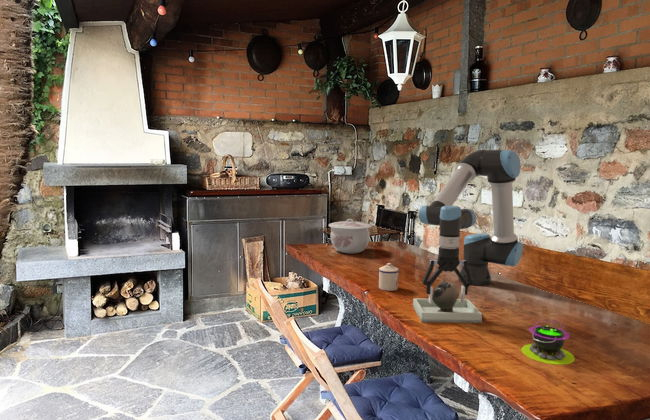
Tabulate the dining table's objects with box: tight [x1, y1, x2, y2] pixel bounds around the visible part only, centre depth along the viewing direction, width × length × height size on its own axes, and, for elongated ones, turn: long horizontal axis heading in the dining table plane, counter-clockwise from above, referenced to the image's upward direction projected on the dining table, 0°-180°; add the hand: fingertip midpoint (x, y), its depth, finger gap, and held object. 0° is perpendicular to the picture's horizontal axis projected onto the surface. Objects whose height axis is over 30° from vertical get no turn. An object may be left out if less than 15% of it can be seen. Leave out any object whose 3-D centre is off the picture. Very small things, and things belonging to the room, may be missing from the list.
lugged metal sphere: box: [432, 278, 460, 312], centre depth 178 cm, size 10×12×10 cm
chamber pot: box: [328, 218, 373, 255], centre depth 291 cm, size 28×28×21 cm
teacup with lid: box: [378, 262, 400, 292], centre depth 214 cm, size 12×9×12 cm
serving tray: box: [412, 297, 483, 324], centre depth 179 cm, size 22×17×4 cm
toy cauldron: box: [521, 317, 575, 366], centre depth 144 cm, size 15×15×11 cm
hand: (446, 302), depth 178 cm, fingers open, 12 cm apart
